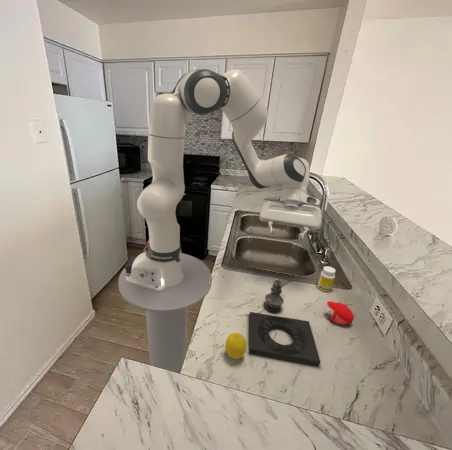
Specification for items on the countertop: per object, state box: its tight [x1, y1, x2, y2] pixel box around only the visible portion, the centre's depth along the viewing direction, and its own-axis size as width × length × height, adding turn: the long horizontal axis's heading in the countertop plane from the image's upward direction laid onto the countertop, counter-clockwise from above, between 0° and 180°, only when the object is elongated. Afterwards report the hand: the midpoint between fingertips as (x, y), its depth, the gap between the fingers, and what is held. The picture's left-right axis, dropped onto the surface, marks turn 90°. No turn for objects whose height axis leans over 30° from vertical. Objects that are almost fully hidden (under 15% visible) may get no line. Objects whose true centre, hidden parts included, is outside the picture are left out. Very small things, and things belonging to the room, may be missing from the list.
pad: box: [248, 311, 321, 367], centre depth 75 cm, size 18×14×2 cm
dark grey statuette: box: [264, 278, 284, 314], centre depth 84 cm, size 6×6×12 cm
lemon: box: [224, 332, 247, 360], centre depth 68 cm, size 6×6×8 cm
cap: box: [326, 300, 355, 326], centre depth 81 cm, size 8×6×6 cm
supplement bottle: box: [316, 265, 337, 292], centre depth 94 cm, size 5×5×8 cm
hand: (286, 236), depth 88 cm, fingers open, 8 cm apart
